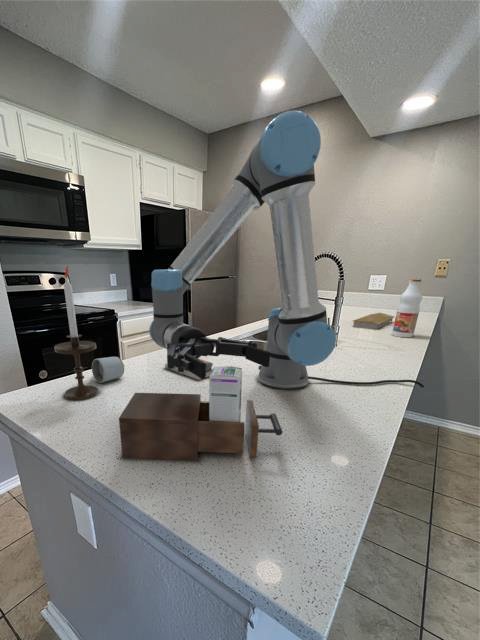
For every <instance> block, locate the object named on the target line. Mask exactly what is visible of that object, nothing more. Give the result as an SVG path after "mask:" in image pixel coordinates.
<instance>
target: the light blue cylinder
mask: <svg viewBox="0 0 480 640" xmlns="http://www.w3.org/2000/svg"><path fill="white" fill-rule="evenodd" d="M91 373H92V376H93V378H94V380H95V381H96V382H97V383H99V384H102V383H103V384H104V383H106V382H110V381H113V380H117V379H119V378H121V377H123V376H124V373H125V364H124V363H123V360H122V359H121V357H119V356H108V357H99V358H94V359H93V361H92V363H91Z"/></svg>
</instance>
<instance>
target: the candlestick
mask: <svg viewBox="0 0 480 640" xmlns="http://www.w3.org/2000/svg"><path fill="white" fill-rule="evenodd" d="M68 268H69V266H68V265H66V267H65V269H64V270H65V272H64V277H65V282H64V283H63V291H64V298H65V305H66V312H67V319H68V327H69V335H65V336H66V338H70V341H65V342H61V343H57V344H55V345H54V346H53V347H54V348H53V349H54V351H55V353H57V354H60V355H71V356H74V362H75V367H74V368H73V372H74V373H75V374H76V376H75V377H74V379H75V380H77V386H74V387H70V388H68V389H67V390H66V391H64V395H65V399H67V400H71V401H85V400H88V399H92V398H94V397H96V396H97V395H98V394H99V389H98V387H97V386H94V385H87V384H86V385H85V384H84V380H83V379H85V375H83V373H84V371H85V368H84V366H82V365H81V356H80V355H82V354H85V353H89V352H93V351H95V350H96V349H97V343H96V342H95V341H90V340H80V339H79V338H80V337H82V336H83V334H78V333H79V332H78V326H77V318H76V317H77V316H76V309H75V303H74V302H75V301H74V295H73V286H72V283H70V281H69V278H68V276H69V269H68Z"/></svg>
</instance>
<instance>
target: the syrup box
mask: <svg viewBox="0 0 480 640" xmlns="http://www.w3.org/2000/svg"><path fill="white" fill-rule="evenodd" d="M212 369H213V370H212V372H211V374H210V376H208V378H209V380H208V382H209V389H208V392H209V395H208V402H209V421H219V422H241V417H242V415H241V414H242V413H241V411H242V387H243V386H242V385H243V383H242V382H243V368H242V367H238V366H237V367H236V366H227V365H225V366H224V365H223V366H222V365H221V366H213V367H212Z"/></svg>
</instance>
